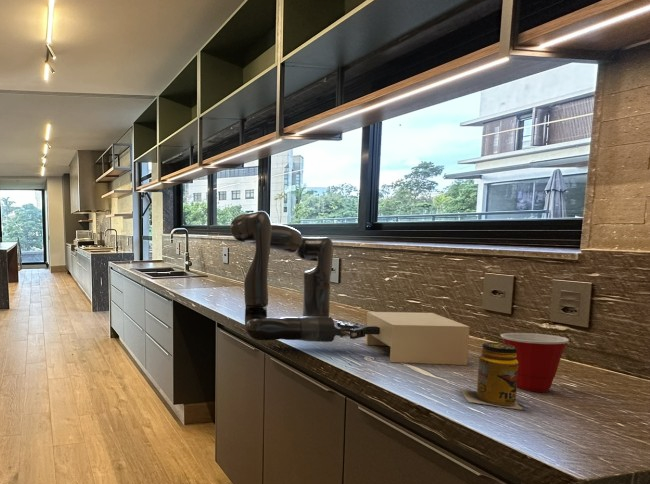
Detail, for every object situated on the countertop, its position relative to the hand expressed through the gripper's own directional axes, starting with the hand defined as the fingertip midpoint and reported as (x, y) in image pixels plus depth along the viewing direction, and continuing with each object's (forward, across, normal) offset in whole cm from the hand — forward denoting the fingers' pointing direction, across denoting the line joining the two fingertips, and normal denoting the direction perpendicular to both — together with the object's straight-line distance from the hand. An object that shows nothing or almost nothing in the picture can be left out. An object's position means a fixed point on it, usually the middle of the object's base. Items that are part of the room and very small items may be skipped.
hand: (378, 330), depth 120 cm
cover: (+9, 0, +7) cm, 11 cm away
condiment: (+9, -33, +7) cm, 35 cm away
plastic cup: (+22, -24, +7) cm, 33 cm away
